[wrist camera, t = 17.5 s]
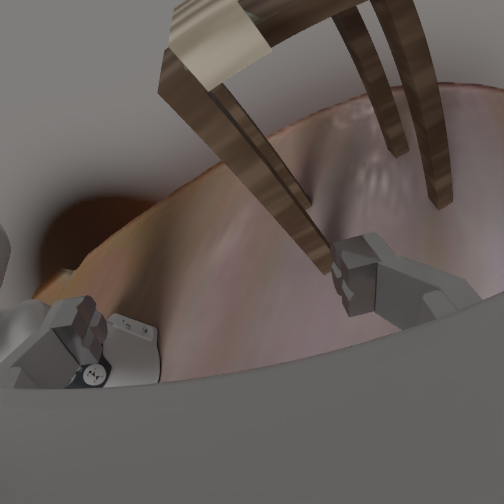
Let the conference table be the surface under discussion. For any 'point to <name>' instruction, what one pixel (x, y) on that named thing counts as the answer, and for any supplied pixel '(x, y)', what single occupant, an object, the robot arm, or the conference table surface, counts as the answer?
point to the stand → (376, 84)
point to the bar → (215, 39)
